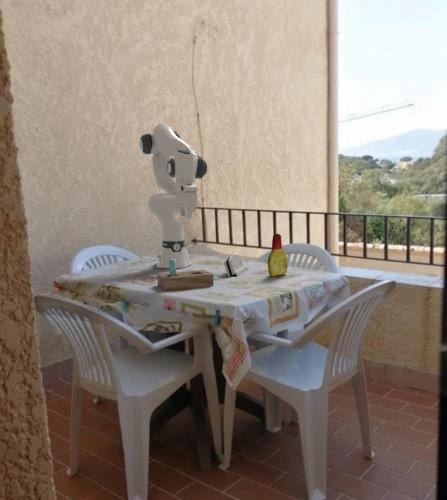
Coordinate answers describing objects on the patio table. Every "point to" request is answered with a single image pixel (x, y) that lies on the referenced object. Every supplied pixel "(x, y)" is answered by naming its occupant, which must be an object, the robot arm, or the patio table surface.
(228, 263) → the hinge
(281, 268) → the bottle
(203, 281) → the hole block
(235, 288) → the patio table surface
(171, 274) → the peg
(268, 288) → the patio table surface
